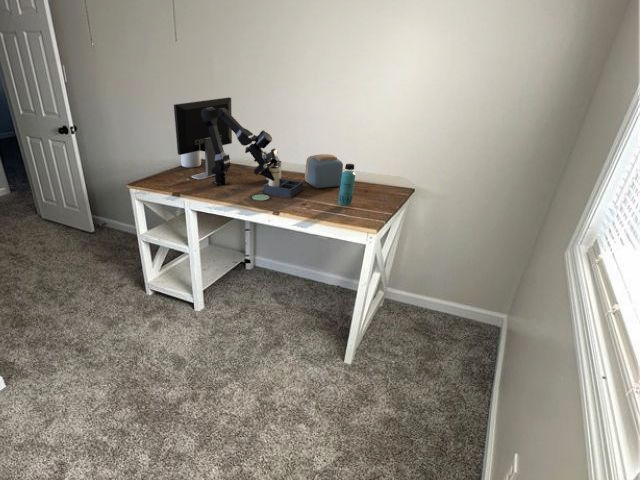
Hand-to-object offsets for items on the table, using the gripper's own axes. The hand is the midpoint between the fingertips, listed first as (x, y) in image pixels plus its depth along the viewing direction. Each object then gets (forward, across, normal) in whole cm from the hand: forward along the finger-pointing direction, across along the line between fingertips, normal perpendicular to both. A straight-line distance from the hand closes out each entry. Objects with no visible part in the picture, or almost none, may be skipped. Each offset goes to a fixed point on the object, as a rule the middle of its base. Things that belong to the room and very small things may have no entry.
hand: (276, 179), depth 215 cm
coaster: (+3, -11, +8) cm, 14 cm away
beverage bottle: (+32, -2, -22) cm, 39 cm away
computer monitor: (-30, +12, +41) cm, 53 cm away
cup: (-3, +21, +14) cm, 26 cm away
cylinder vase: (-45, +24, +57) cm, 76 cm away
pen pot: (+4, 0, +6) cm, 7 cm away
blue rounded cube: (+16, +27, -6) cm, 32 cm away
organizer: (+7, +4, +4) cm, 9 cm away
